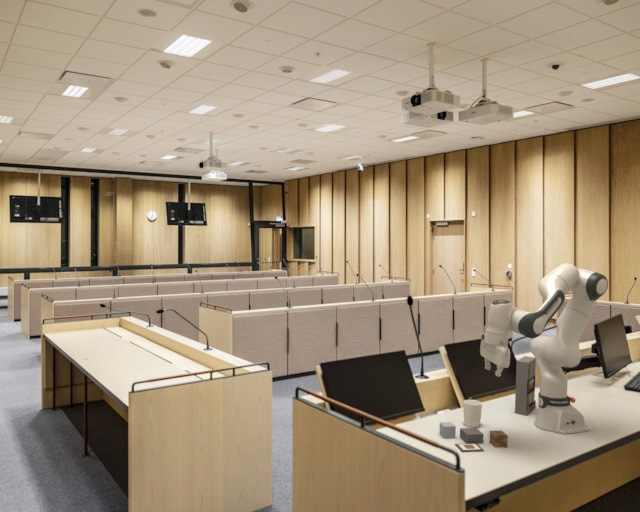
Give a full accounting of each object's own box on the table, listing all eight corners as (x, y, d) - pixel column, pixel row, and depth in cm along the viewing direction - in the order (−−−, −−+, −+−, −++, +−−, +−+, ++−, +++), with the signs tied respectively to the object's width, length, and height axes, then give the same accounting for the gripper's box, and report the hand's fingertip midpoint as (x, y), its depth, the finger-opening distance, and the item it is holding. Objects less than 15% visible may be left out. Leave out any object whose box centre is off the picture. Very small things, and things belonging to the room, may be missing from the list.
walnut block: (501, 442, 213) (501, 430, 212) (507, 447, 208) (507, 435, 207) (489, 443, 212) (489, 430, 212) (495, 447, 207) (495, 435, 207)
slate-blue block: (450, 433, 221) (451, 422, 221) (455, 438, 216) (455, 426, 216) (439, 434, 221) (439, 422, 220) (443, 438, 216) (444, 426, 216)
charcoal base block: (475, 437, 218) (476, 427, 218) (483, 443, 211) (483, 434, 211) (459, 437, 217) (460, 428, 217) (466, 444, 210) (467, 434, 210)
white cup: (468, 428, 228) (469, 405, 227) (459, 422, 235) (460, 400, 235) (484, 427, 230) (485, 404, 229) (474, 420, 237) (475, 399, 237)
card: (476, 444, 210) (476, 442, 210) (484, 451, 203) (484, 449, 203) (454, 444, 209) (454, 443, 209) (461, 452, 202) (461, 450, 202)
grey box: (527, 416, 245) (529, 363, 245) (514, 413, 249) (516, 360, 248) (536, 408, 256) (537, 357, 256) (523, 406, 260) (524, 356, 259)
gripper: (516, 345, 204) (511, 380, 205) (493, 334, 225) (489, 366, 225) (500, 344, 204) (496, 379, 204) (479, 333, 224) (475, 365, 225)
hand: (492, 372), depth 215 cm, fingers open, 8 cm apart
